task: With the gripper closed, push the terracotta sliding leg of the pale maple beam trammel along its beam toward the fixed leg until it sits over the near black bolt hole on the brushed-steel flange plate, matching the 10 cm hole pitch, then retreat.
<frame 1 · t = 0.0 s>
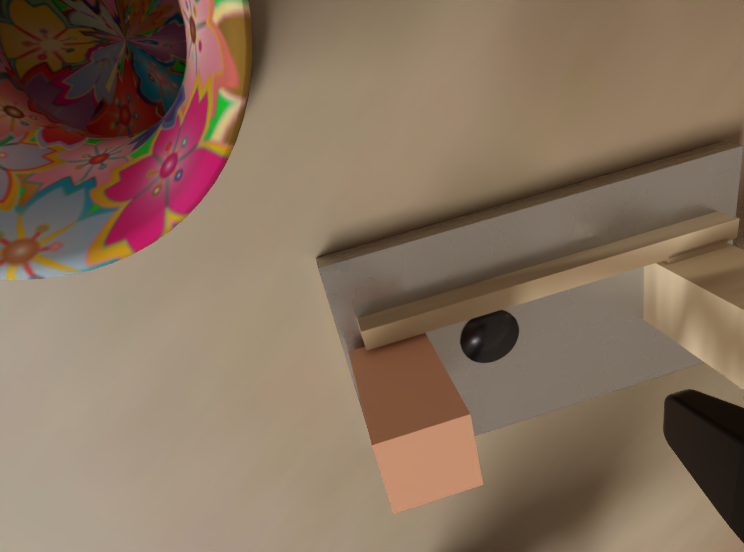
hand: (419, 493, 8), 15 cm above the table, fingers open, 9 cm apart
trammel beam: (580, 339, 21), on the flange plate, point 4 cm above the table
flange plate: (535, 307, 25), on the table
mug: (115, 74, 18), on the table
slide leg: (409, 412, 20), point 5 cm above the table, slide at 0.0 cm
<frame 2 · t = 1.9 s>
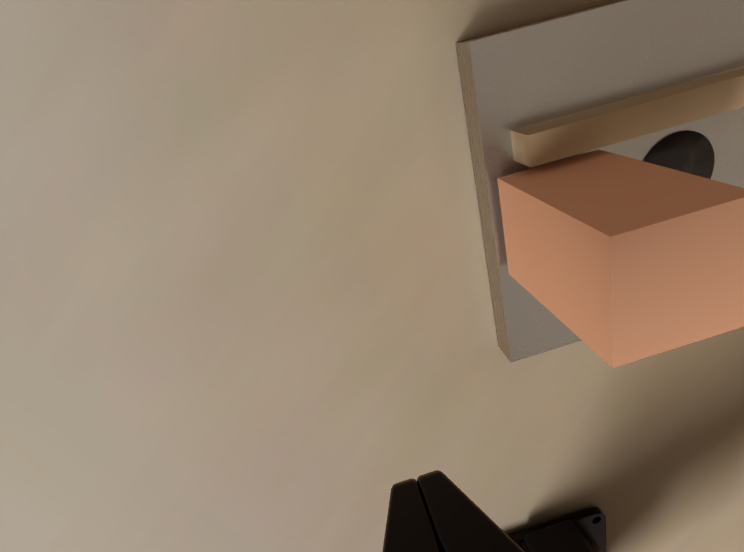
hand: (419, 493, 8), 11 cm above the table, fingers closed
flange plate: (723, 146, 19), on the table
slide leg: (604, 242, 14), point 5 cm above the table, slide at 0.0 cm
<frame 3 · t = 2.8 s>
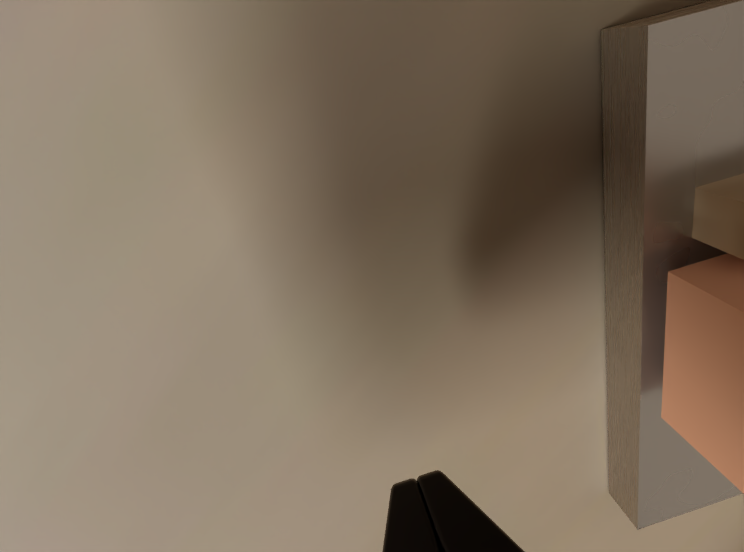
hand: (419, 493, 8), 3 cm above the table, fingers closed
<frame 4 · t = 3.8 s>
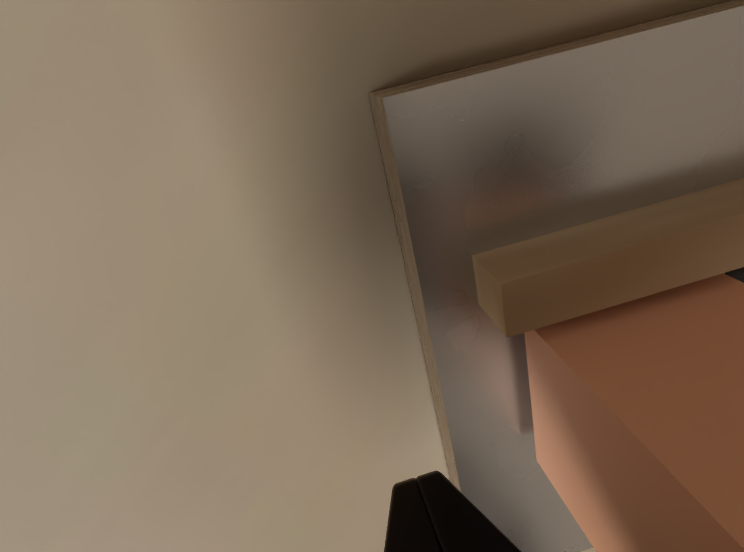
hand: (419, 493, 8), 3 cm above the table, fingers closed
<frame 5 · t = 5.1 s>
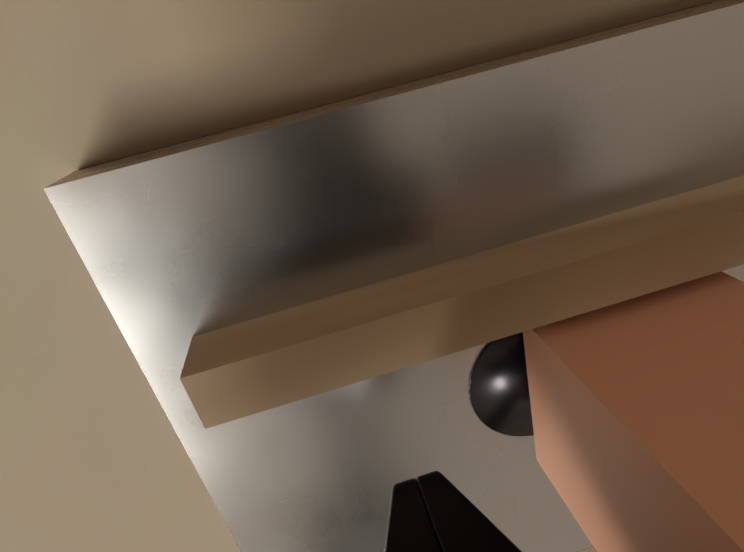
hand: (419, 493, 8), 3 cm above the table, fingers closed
flange plate: (635, 307, 11), on the table
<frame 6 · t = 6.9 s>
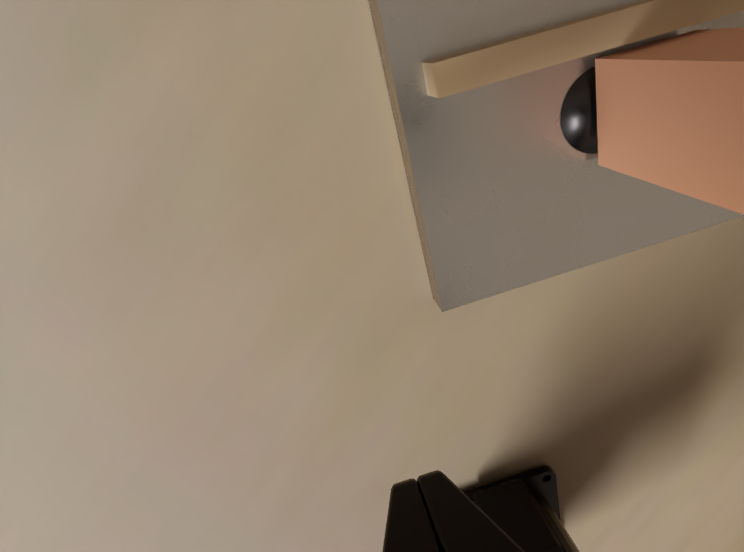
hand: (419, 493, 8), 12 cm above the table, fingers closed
flange plate: (654, 85, 18), on the table
slide leg: (715, 109, 14), point 5 cm above the table, slide at 6.4 cm
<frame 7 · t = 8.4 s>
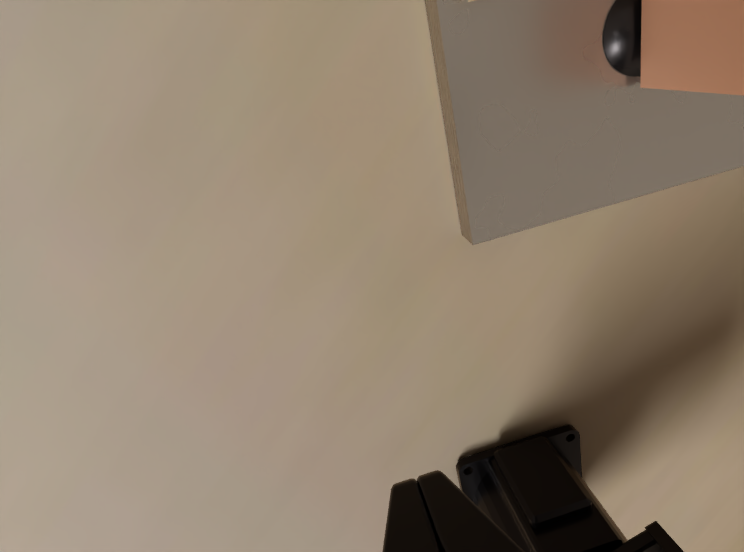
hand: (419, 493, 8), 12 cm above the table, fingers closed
flange plate: (697, 10, 18), on the table
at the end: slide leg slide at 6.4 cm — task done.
